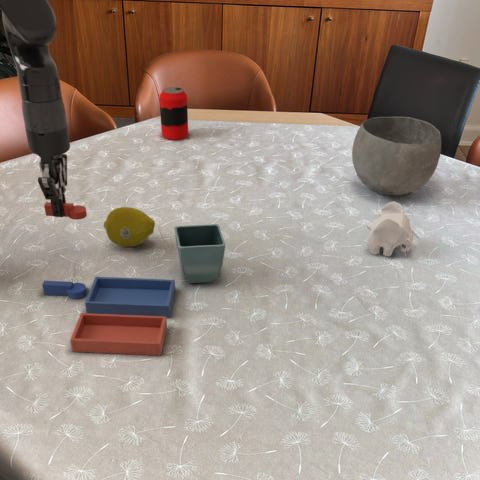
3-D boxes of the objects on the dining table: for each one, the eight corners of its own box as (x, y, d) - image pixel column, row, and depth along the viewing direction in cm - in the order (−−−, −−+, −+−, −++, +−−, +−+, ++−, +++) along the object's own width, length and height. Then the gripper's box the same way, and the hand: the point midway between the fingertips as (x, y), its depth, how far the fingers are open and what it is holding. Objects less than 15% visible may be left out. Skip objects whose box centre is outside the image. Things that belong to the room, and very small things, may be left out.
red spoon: (44, 218, 129) (42, 207, 127) (49, 210, 132) (47, 199, 130) (84, 220, 129) (83, 209, 127) (88, 212, 132) (87, 201, 130)
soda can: (193, 136, 186) (192, 90, 177) (174, 142, 182) (171, 96, 173) (175, 129, 189) (173, 84, 181) (156, 135, 185) (153, 90, 177)
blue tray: (86, 313, 119) (84, 302, 117) (97, 287, 126) (95, 276, 124) (169, 317, 119) (168, 306, 117) (175, 290, 125) (174, 279, 124)
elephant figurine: (414, 265, 134) (423, 225, 128) (356, 256, 137) (362, 216, 131) (418, 244, 141) (427, 205, 135) (363, 236, 143) (370, 196, 137)
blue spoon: (42, 297, 123) (40, 287, 121) (47, 287, 125) (45, 277, 124) (84, 299, 123) (83, 289, 121) (88, 289, 125) (87, 279, 124)
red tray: (72, 351, 111) (70, 340, 109) (82, 324, 117) (80, 312, 115) (161, 355, 110) (160, 343, 109) (167, 327, 116) (166, 316, 115)
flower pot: (219, 264, 133) (218, 223, 127) (225, 287, 127) (225, 244, 121) (176, 267, 132) (173, 225, 126) (180, 290, 126) (178, 247, 119)
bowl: (376, 214, 151) (387, 148, 141) (332, 180, 165) (339, 118, 154) (448, 200, 158) (463, 136, 147) (400, 168, 171) (411, 108, 161)
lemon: (99, 249, 137) (94, 213, 131) (114, 233, 142) (110, 197, 137) (147, 257, 135) (144, 221, 129) (160, 240, 140) (158, 204, 135)
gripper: (35, 110, 123) (49, 198, 135) (14, 135, 113) (32, 228, 125) (74, 112, 123) (85, 200, 135) (57, 137, 113) (71, 230, 125)
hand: (60, 213), depth 130 cm, fingers closed on red spoon, 1 cm apart
